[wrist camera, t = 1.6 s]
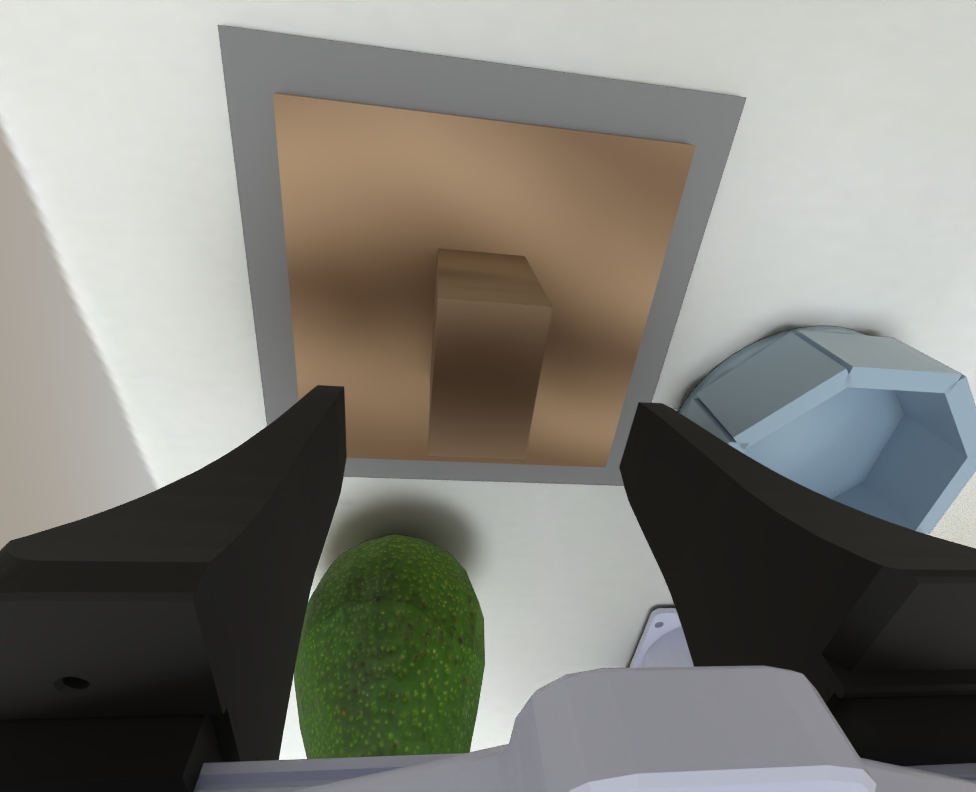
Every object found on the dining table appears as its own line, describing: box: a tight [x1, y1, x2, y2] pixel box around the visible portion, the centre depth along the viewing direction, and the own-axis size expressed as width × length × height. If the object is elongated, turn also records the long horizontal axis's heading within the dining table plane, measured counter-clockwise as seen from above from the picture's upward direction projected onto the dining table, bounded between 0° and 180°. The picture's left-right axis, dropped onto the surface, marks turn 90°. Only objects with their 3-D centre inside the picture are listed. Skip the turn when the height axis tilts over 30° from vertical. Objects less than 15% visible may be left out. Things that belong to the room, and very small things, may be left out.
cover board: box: [273, 93, 696, 467], centre depth 17 cm, size 13×13×6 cm
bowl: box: [679, 326, 976, 534], centre depth 22 cm, size 11×11×4 cm
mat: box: [218, 25, 746, 486], centre depth 19 cm, size 16×16×1 cm
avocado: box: [294, 534, 485, 759], centre depth 21 cm, size 8×8×12 cm
